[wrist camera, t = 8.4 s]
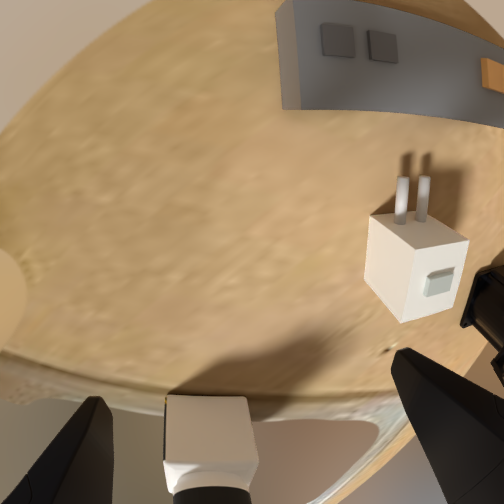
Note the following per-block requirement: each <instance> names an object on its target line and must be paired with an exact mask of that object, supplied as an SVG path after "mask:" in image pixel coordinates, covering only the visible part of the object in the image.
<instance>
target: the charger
mask: <svg viewBox="0 0 504 504" xmlns="http://www.w3.org/2000/svg"><path fill="white" fill-rule="evenodd" d="M430 179H431V177H429V176H426V175H419V183H418V196H417V206H416V211H408V212H407V204H408V192H409V177H407V176H397V187H396V202H395V213H388V214H378V215H370V217H369V231H368V243H367V254H366V264H365V274H364V280H365V282H366V283H367V284H368V285H369V286H370V287H371V289H372V290H373V291H374V292H375V293H376V294H377V296H378V297H379V298H380V299H381V300H382V302H383V303H384V304H385V305H386V306H387V308H388V309H389V310H390V311H391V312H392V314H393V315H394V316H395V317H396V319H397V320H398V321H399V322H400V323H404V322H408V321H411V320H414V319H418V318H421V317H425V316H428V315H431V314H434V313H438V312H441V311H444V310H447V309H450V308H452V307H453V304H454V300H455V297H456V293H457V290H458V286H459V283H460V279H461V275H462V271H463V267H464V263H465V258H466V254H467V249H468V245H469V240H468V239H467V238H465V237H464V236H462V235H461V234H459V233H458V232H456V231H454V230H453V229H451V228H450V227H448V226H446V225H445V224H443V223H441V222H440V221H438V220H436V219H435V218H433V217H431V216H430V215H428V214H427V210H428V201H429V191H430Z"/></svg>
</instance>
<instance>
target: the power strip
mask: <svg viewBox="0 0 504 504" xmlns="http://www.w3.org/2000/svg"><path fill="white" fill-rule="evenodd" d="M275 17H276V28H277V40H278V52H279V65H280V79H281V93H282V109H283V110H360V111H379V112H393V113H405V114H415V115H424V116H433V117H440V118H448V119H454V120H461V121H467V122H473V123H478V124H484V125H489V126H494V127H498V128H503V129H504V49H503V48H501V47H499V46H497V45H495V44H493V43H490V42H488V41H486V40H484V39H481V38H479V37H477V36H475V35H472V34H470V33H467V32H465V31H462V30H460V29H457V28H454V27H452V26H449V25H446V24H443V23H440V22H438V21H435V20H432V19H428V18H425V17H422V16H419V15H415V14H412V13H408V12H404V11H401V10H397V9H393V8H389V7H384V6H380V5H375V4H370V3H365V2H360V1H354V0H285V2H284V3H283V4H282V5H281V6H280V7H279V9H278V10H277V11H276V12H275Z"/></svg>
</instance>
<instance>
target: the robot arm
mask: <svg viewBox="0 0 504 504" xmlns="http://www.w3.org/2000/svg"><path fill="white" fill-rule="evenodd" d="M471 325H473V326H474V327H475V328H476V329H477V330H478V331H479V332H480V333H481V334H482V335H483V336H484V337H485V338H486V339H487V340H488V341H489V342H490V343H491V345H492V346H493V347H494V348H495V349H496V350H497V351H498V352H499V353H498V354H497V355H496V357H495V358H494V359H493V360H492V361H491V365H492V366H493V368H494V371H495V373H496V374H497V376H498V378H499V380H500V381H501V383H502V385H503V387H504V266H501V267H497V268H494V269H490V270H487V271H483V272H480V273H478V274H477V275H476V276H475V279H474V282H473V286H472V289H471V293H470V296H469V299H468V302H467V305H466V308H465V311H464V314H463V317H462V320H461V323H460V326H461V327H462V328H466V327H468V326H471ZM391 374H392V377H393V380H394V382H395V385H396V388H397V390H398V393H399V396H400V399H401V401H402V404H403V407H404V409H405V412H406V414H407V416H408V418H409V420H410V422H411V424H412V426H413V429H414V431H415V433H416V435H417V437H418V439H419V441H420V443H421V445H422V447H423V449H424V452H425V454H426V456H427V458H428V460H429V462H430V465H431V467H432V469H433V471H434V473H435V476H436V478H437V480H438V482H439V485H440V487H441V489H442V492H443V493H444V496H445V498H446V501H447V503H448V504H504V399H502V398H500V397H499V396H497V395H493V393H491V392H489V391H487V390H486V389H484V388H482V387H480V386H478V385H476V384H474V383H473V382H471V381H469V380H467V379H466V378H464V377H462V376H460V375H458V374H456V373H455V372H453V371H451V370H449V369H447V368H446V367H444V366H442V365H440V364H438V363H436V362H435V361H433V360H431V359H429V358H427V357H426V356H424V355H422V354H420V353H418V352H417V351H415V350H413V349H411V348H409V347H406V348H403V349H399V350H397V351H396V353H395V356H394V360H393V363H392V366H391ZM113 468H114V447H113V416H112V413H111V411H110V409H109V408H108V406H107V404H106V403H105V401H104V400H103V398H102V397H100V396H89V397H88V398H86V400H85V401H84V402H83V403H82V405H81V406H80V407H79V408H78V409H77V411H76V412H75V413H74V414H73V416H72V417H71V418H70V419H69V421H68V422H67V423H66V424H65V425H64V427H63V428H62V429H61V430H60V432H59V433H58V434H57V435H56V437H55V438H54V439H53V440H52V442H51V443H50V444H49V446H48V447H47V448H46V449H45V450H44V452H43V453H42V454H41V455H40V457H39V458H38V459H37V461H36V462H35V463H34V464H33V466H32V467H31V468H30V470H29V471H28V472H27V473H28V474H26V475H25V476H24V477H23V479H22V480H21V481H20V482H19V484H18V485H17V486H16V488H15V489H14V490H13V491H12V492H11V493H10V494H9V496H8V497H7V498H6V499H5V500H4V501H3V502H2V503H1V504H112V490H113V470H114V469H113Z"/></svg>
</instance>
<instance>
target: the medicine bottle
mask: <svg viewBox="0 0 504 504" xmlns="http://www.w3.org/2000/svg"><path fill="white" fill-rule="evenodd" d="M163 446H164V447H163V463H164V468H165V475H166V480H167V486H168V491H169V492H170V493H173V504H252V503H251V498H250V493H249V485H250V483H251V480H252V478H253V476H254V473H255V471H256V469H257V466H258V464H259V458H258V453H257V449H256V444H255V439H254V434H253V429H252V423H251V418H250V413H249V408H248V403H247V399H246V397H243V396H187V395H166V397H165V411H164V445H163Z"/></svg>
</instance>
